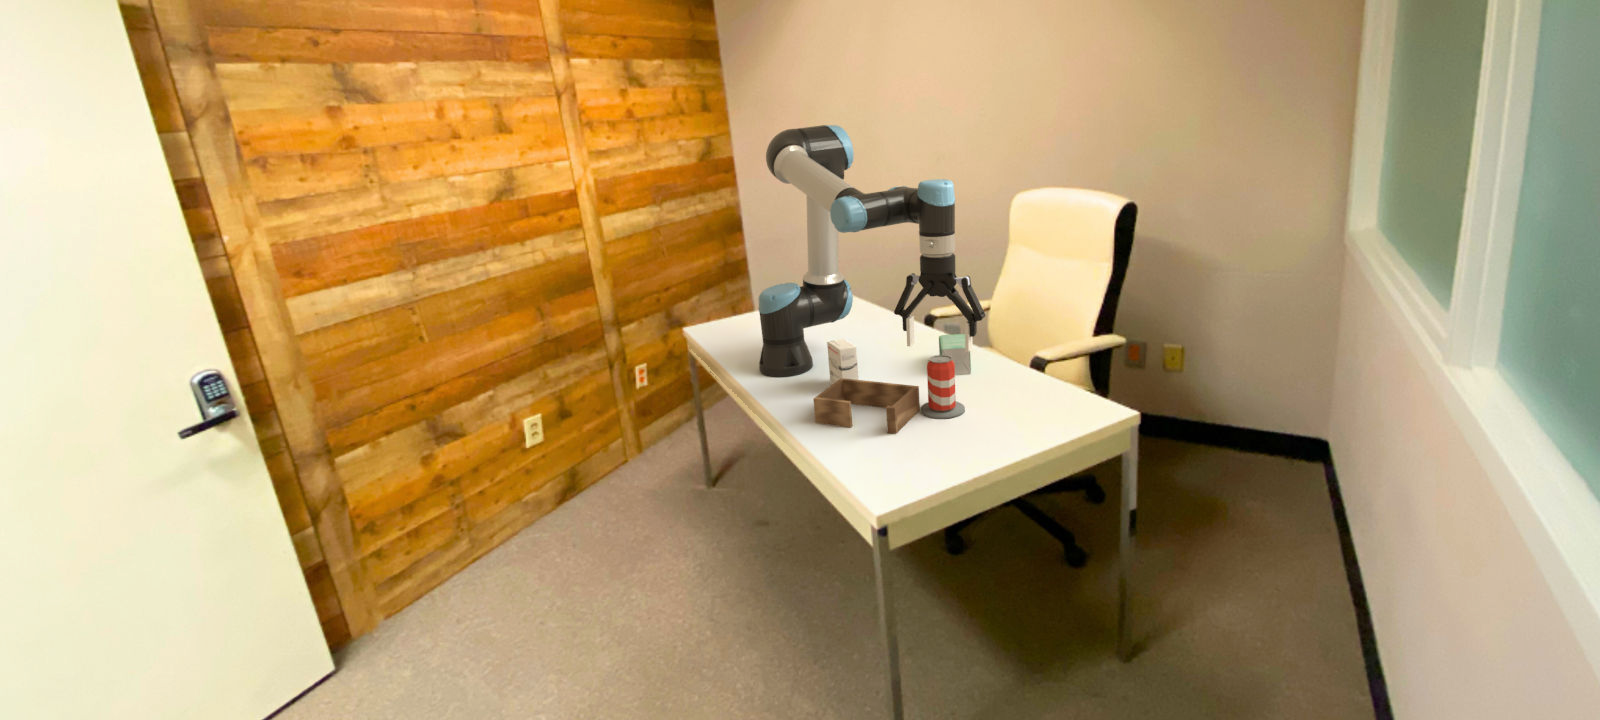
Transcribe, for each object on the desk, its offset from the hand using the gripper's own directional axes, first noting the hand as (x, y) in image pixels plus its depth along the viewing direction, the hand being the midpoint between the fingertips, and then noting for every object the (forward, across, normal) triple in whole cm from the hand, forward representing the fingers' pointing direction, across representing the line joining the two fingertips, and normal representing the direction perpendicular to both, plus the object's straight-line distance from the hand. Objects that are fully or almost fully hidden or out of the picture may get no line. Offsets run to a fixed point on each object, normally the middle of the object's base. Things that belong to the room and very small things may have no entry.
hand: (939, 347), depth 167 cm
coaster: (+15, +1, 0) cm, 15 cm away
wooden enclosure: (+15, -14, -9) cm, 23 cm away
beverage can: (+15, +1, 0) cm, 15 cm away
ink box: (+16, -28, +7) cm, 33 cm away
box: (+16, -7, +30) cm, 34 cm away
